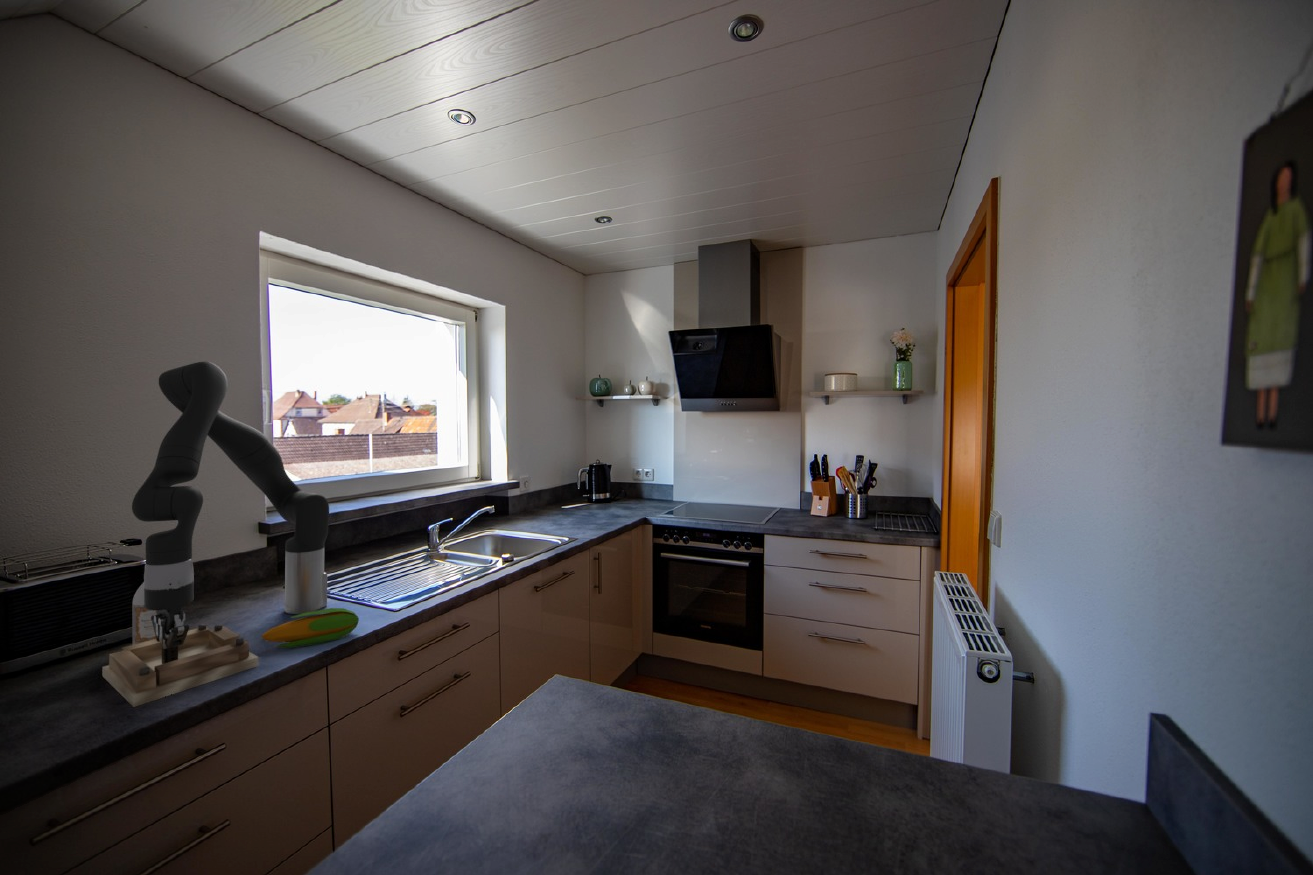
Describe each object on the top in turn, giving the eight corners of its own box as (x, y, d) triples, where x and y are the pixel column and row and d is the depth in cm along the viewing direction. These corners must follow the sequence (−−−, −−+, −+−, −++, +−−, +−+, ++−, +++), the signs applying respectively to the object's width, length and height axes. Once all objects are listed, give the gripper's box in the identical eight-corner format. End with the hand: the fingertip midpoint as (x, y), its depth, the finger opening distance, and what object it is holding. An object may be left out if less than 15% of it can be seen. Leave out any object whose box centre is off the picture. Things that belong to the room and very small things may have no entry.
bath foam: (128, 658, 117) (128, 569, 116) (137, 646, 122) (136, 562, 122) (170, 651, 120) (170, 566, 120) (176, 640, 126) (176, 558, 125)
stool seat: (220, 642, 126) (221, 618, 126) (258, 665, 115) (258, 639, 115) (102, 676, 109) (102, 647, 109) (133, 706, 98) (133, 675, 98)
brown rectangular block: (245, 652, 117) (245, 634, 116) (251, 656, 115) (251, 637, 115) (154, 680, 104) (154, 660, 103) (160, 685, 102) (160, 664, 102)
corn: (360, 608, 131) (260, 624, 119) (360, 638, 131) (260, 657, 119) (357, 601, 137) (261, 615, 125) (357, 630, 137) (261, 647, 125)
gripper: (133, 580, 108) (134, 662, 109) (157, 593, 102) (157, 680, 102) (180, 571, 115) (180, 649, 115) (205, 583, 108) (205, 665, 109)
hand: (170, 663), depth 109 cm, fingers closed
